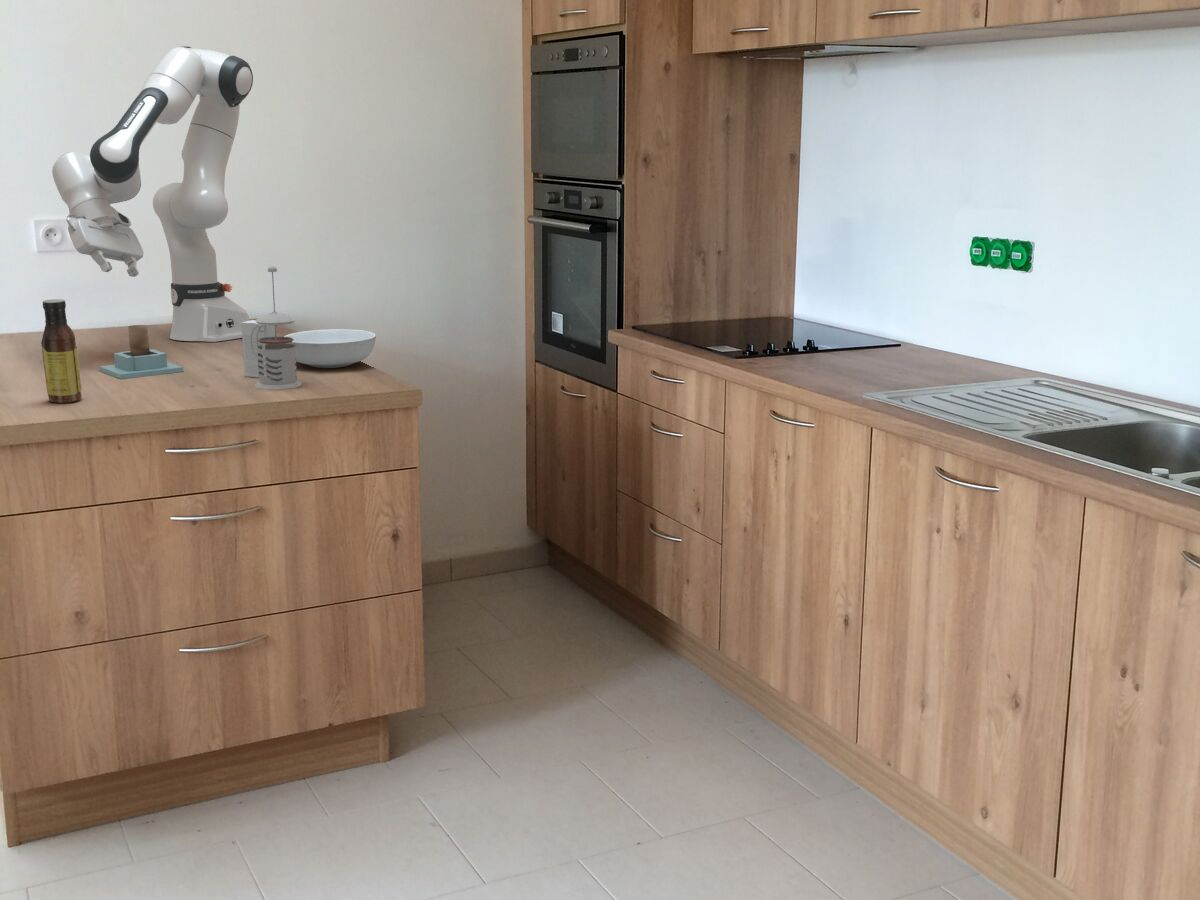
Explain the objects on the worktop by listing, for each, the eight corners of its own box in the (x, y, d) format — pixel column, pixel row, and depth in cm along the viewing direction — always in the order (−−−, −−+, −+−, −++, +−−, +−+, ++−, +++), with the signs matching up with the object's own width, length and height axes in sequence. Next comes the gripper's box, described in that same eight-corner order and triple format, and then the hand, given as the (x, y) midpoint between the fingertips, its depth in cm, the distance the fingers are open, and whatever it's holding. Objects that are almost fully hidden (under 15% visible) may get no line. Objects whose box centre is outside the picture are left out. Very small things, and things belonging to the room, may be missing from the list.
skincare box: (278, 375, 269) (276, 321, 266) (267, 378, 265) (264, 323, 262) (255, 373, 271) (252, 319, 268) (243, 376, 267) (240, 322, 264)
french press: (277, 391, 253) (271, 269, 246) (238, 384, 259) (231, 265, 252) (311, 383, 261) (306, 265, 255) (273, 377, 267) (267, 262, 261)
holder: (160, 363, 280) (159, 346, 279) (183, 371, 272) (182, 353, 271) (99, 370, 271) (97, 353, 270) (120, 379, 262) (119, 360, 261)
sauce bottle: (63, 396, 244) (53, 297, 240) (89, 398, 243) (80, 298, 238) (39, 403, 238) (29, 301, 233) (66, 405, 237) (56, 302, 232)
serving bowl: (333, 353, 297) (332, 325, 295) (395, 363, 285) (394, 334, 283) (264, 365, 280) (263, 336, 279) (328, 376, 269) (326, 345, 267)
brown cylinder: (146, 364, 274) (143, 324, 271) (153, 367, 271) (150, 326, 269) (128, 366, 271) (125, 326, 269) (136, 369, 268) (132, 328, 266)
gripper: (74, 205, 265) (101, 260, 264) (133, 219, 285) (159, 271, 284) (53, 220, 267) (80, 275, 265) (113, 233, 287) (138, 284, 285)
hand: (121, 273), depth 275 cm, fingers open, 8 cm apart
